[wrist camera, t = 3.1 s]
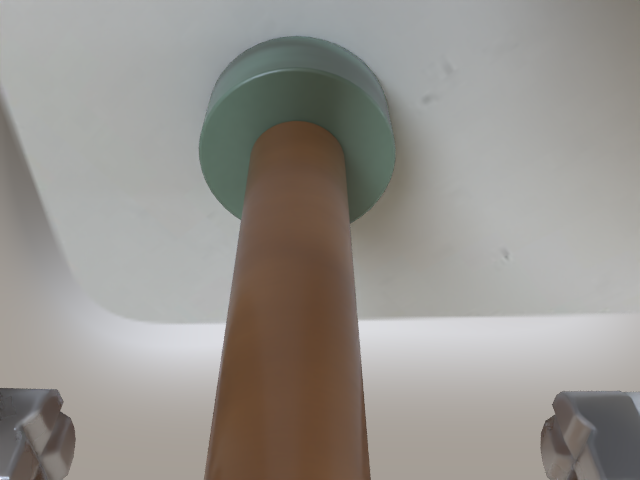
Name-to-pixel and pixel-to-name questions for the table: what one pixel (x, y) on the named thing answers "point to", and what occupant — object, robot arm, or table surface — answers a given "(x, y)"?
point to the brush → (293, 256)
